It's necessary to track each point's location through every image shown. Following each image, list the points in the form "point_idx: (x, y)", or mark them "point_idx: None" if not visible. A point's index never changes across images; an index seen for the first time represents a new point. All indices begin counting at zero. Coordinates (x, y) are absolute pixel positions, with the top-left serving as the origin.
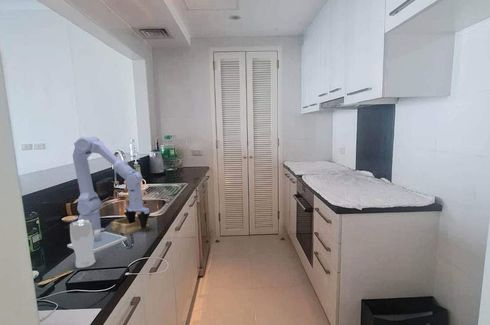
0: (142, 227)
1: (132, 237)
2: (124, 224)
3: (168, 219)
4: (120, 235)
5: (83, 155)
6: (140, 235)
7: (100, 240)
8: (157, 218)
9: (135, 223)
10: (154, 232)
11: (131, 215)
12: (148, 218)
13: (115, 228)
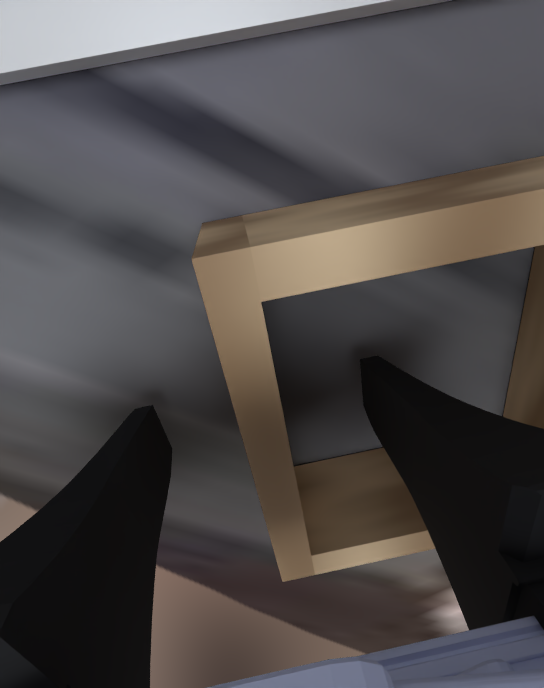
0: (125, 421)
1: (6, 201)
2: (327, 260)
3: (279, 614)
4: (131, 48)
5: None
6: (15, 312)
7: None
8: (389, 579)
9: (235, 412)
10: (8, 450)
11: (447, 504)
12: (281, 570)
13: (524, 168)
